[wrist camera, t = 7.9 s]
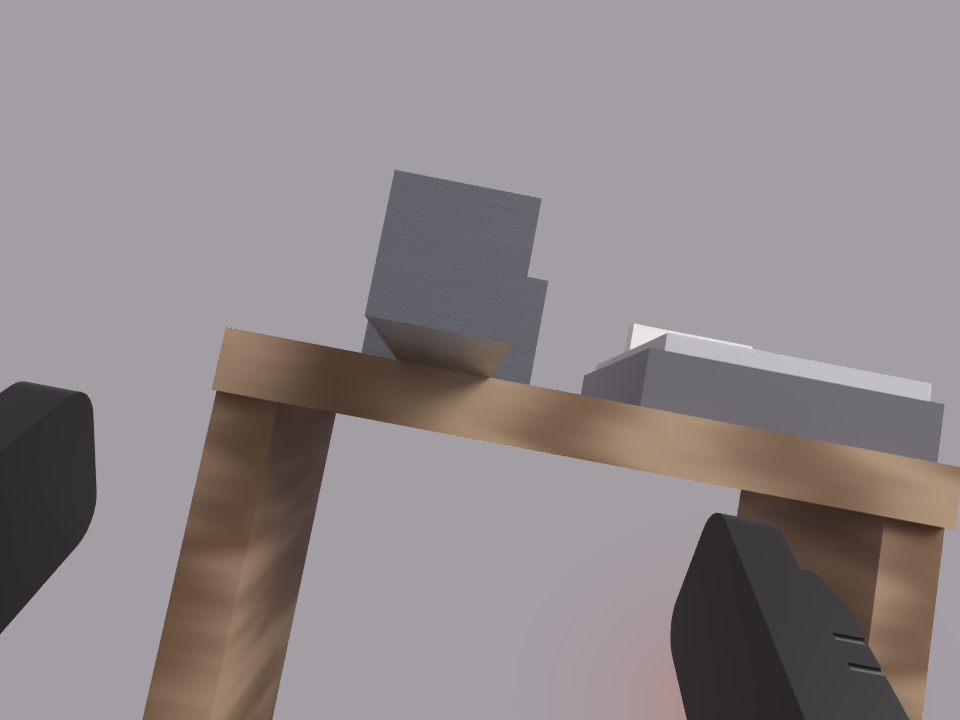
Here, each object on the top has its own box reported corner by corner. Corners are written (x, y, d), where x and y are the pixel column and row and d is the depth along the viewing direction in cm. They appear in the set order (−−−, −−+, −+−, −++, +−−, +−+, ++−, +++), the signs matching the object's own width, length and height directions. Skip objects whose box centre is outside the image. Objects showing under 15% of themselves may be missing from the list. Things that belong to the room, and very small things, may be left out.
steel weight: (509, 400, 34) (525, 316, 34) (589, 358, 15) (622, 165, 15) (381, 376, 34) (398, 291, 34) (289, 300, 15) (331, 108, 15)
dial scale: (766, 453, 38) (780, 356, 38) (937, 464, 24) (955, 316, 25) (573, 416, 37) (589, 319, 38) (640, 407, 24) (664, 259, 25)
